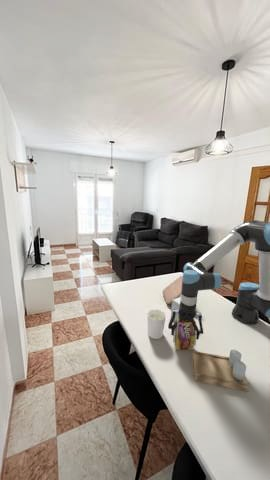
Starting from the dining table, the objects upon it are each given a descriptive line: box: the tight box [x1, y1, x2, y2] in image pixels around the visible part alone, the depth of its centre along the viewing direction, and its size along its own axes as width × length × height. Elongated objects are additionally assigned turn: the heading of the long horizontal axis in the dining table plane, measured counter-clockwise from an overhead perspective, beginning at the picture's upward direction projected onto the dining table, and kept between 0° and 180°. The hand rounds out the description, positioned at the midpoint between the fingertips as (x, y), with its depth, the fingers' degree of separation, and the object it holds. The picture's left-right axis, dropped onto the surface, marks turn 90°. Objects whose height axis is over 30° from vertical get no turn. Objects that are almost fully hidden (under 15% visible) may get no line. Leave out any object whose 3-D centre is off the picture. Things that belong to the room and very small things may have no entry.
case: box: [162, 275, 183, 308], centre depth 143 cm, size 20×21×16 cm
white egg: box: [228, 349, 242, 368], centre depth 86 cm, size 4×4×6 cm
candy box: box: [173, 318, 197, 351], centre depth 98 cm, size 9×4×15 cm, turn 96°
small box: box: [170, 297, 181, 322], centre depth 120 cm, size 8×6×13 cm
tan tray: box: [192, 350, 250, 392], centre depth 85 cm, size 20×13×3 cm, turn 79°
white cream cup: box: [147, 309, 167, 340], centre depth 106 cm, size 10×10×12 cm
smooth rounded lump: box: [232, 360, 247, 382], centre depth 80 cm, size 4×4×6 cm
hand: (184, 342), depth 99 cm, fingers closed on candy box, 9 cm apart
